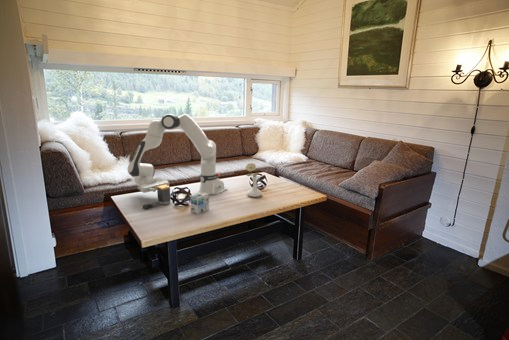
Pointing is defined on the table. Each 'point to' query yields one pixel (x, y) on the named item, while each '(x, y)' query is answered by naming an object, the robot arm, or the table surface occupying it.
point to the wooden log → (163, 193)
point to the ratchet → (155, 205)
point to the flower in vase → (254, 191)
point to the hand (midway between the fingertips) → (161, 188)
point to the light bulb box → (199, 202)
